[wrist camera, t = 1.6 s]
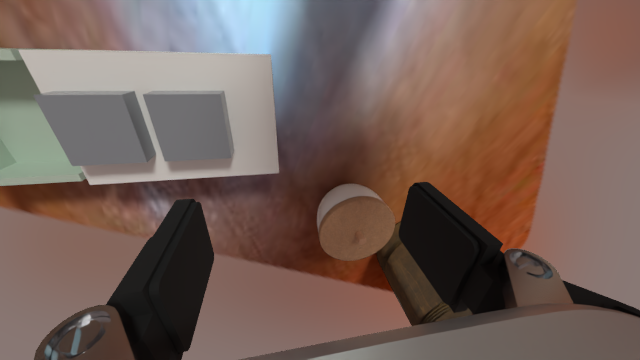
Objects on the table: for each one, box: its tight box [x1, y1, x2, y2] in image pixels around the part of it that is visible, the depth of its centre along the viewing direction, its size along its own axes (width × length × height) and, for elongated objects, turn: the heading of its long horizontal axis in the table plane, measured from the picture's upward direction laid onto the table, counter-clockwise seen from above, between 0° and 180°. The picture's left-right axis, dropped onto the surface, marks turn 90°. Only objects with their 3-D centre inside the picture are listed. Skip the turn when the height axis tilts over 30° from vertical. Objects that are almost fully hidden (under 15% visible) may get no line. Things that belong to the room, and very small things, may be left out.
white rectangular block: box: [18, 50, 279, 185], centre depth 25 cm, size 19×12×6 cm, turn 89°
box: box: [0, 48, 86, 186], centre depth 22 cm, size 10×12×7 cm
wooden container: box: [377, 222, 472, 326], centre depth 37 cm, size 15×15×22 cm
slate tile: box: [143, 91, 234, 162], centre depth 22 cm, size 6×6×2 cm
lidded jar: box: [317, 184, 395, 261], centre depth 34 cm, size 11×11×9 cm
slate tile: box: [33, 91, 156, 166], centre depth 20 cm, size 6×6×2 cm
